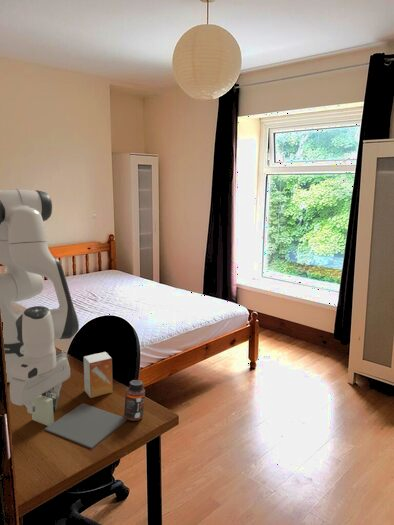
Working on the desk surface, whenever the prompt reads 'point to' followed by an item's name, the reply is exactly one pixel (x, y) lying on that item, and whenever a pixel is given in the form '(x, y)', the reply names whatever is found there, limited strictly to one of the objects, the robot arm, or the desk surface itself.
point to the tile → (43, 410)
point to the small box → (98, 374)
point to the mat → (86, 425)
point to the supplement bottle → (134, 401)
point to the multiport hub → (49, 395)
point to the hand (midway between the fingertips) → (43, 404)
